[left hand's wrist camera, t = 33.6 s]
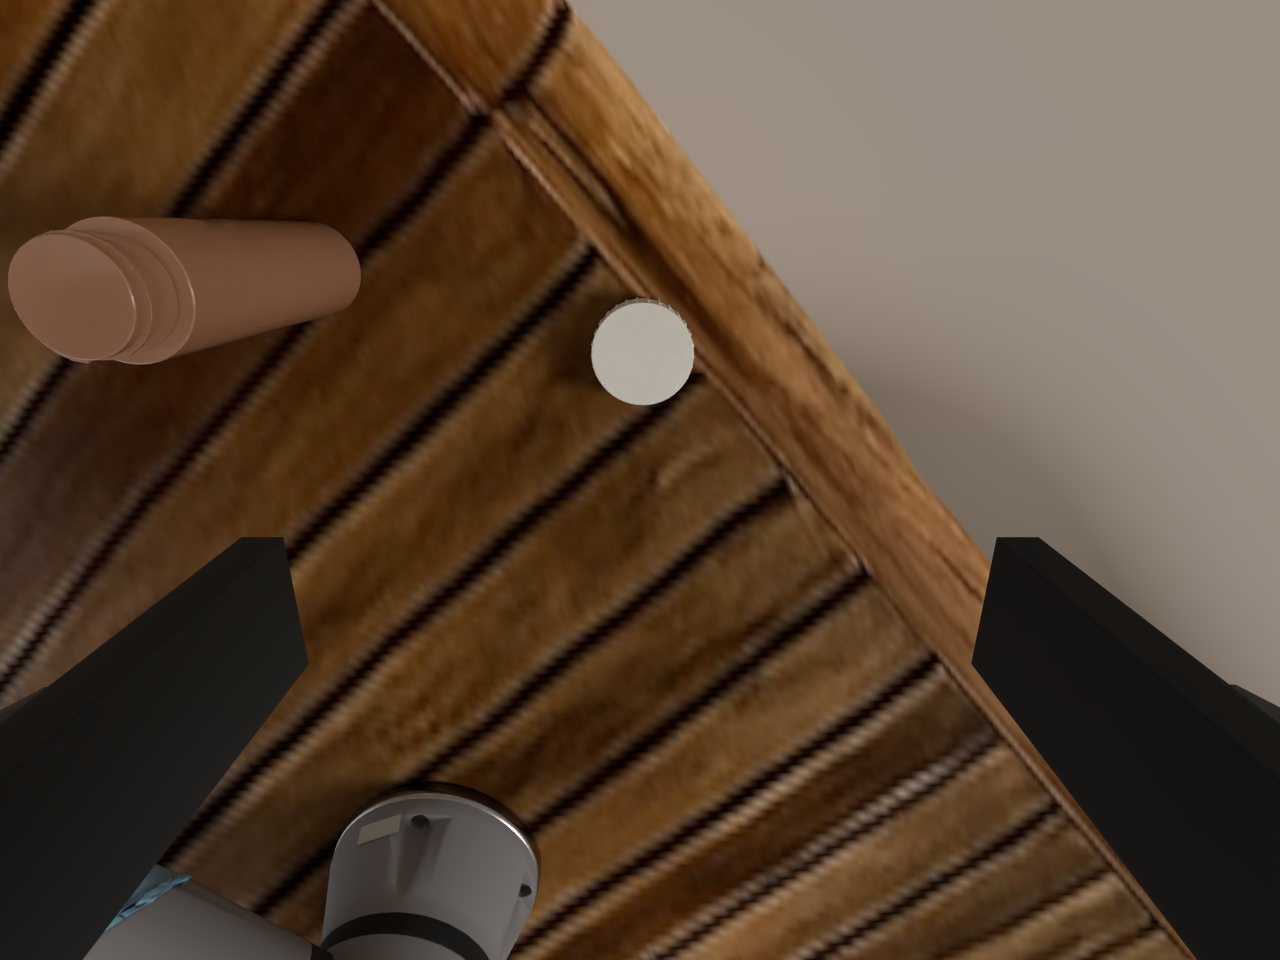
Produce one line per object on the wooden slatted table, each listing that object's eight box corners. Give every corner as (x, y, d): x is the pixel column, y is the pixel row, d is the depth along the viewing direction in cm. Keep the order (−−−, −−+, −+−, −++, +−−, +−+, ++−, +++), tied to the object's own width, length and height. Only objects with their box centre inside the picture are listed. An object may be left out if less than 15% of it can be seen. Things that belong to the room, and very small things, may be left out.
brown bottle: (272, 211, 36) (-20, 197, 20) (365, 233, 36) (151, 236, 20) (268, 303, 38) (-3, 358, 22) (357, 323, 38) (154, 391, 22)
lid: (597, 291, 37) (594, 295, 35) (698, 302, 38) (702, 307, 35) (588, 390, 39) (585, 400, 37) (684, 401, 40) (687, 411, 37)
